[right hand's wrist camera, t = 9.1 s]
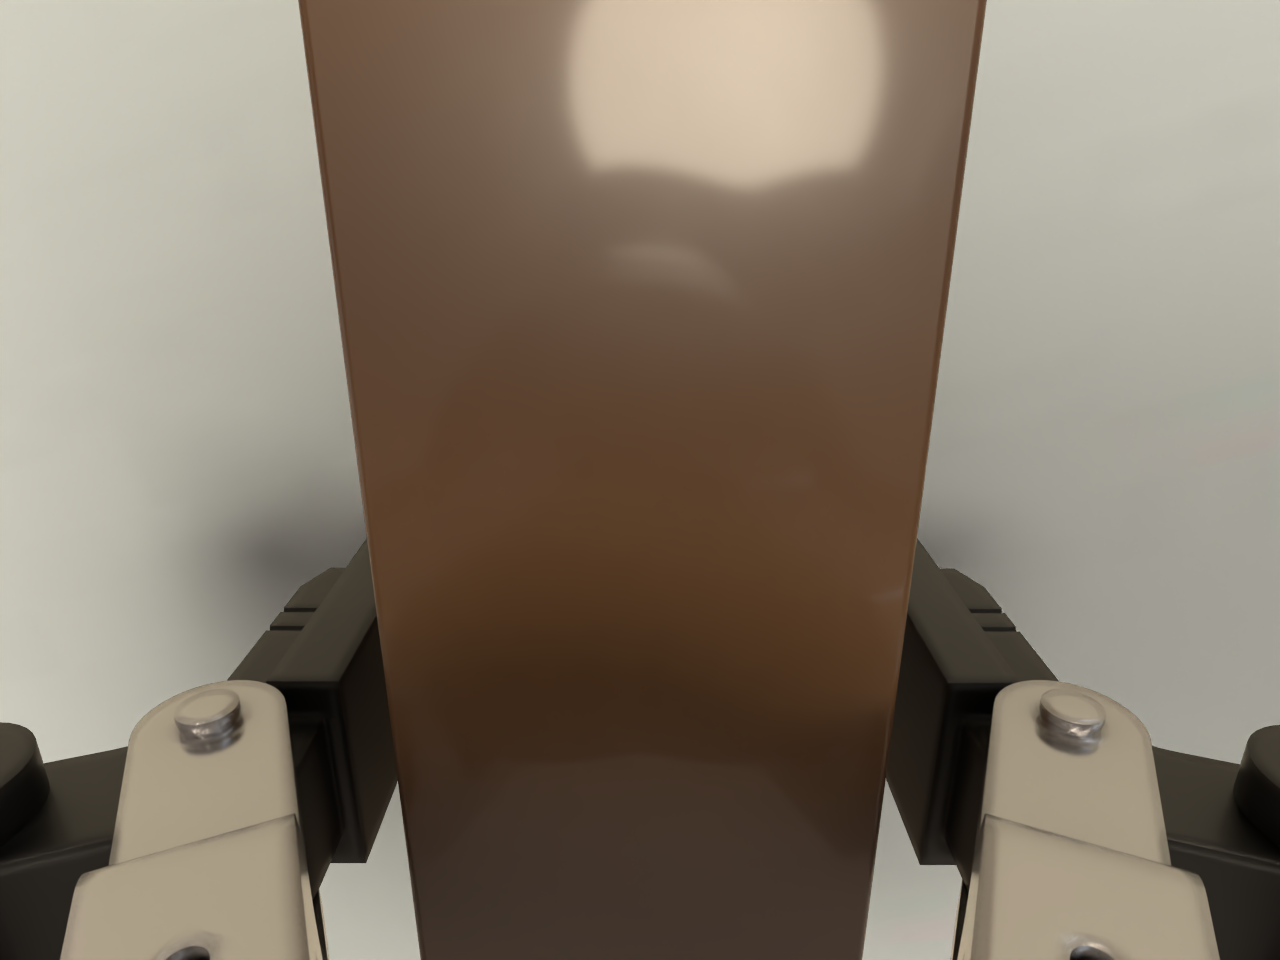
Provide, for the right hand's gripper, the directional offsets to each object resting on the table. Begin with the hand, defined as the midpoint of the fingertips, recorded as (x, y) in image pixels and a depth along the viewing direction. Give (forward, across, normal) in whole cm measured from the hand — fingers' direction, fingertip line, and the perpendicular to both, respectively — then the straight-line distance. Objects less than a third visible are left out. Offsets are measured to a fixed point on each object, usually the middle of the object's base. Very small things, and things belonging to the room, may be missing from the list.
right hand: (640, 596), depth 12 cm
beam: (+3, 0, -19) cm, 20 cm away
